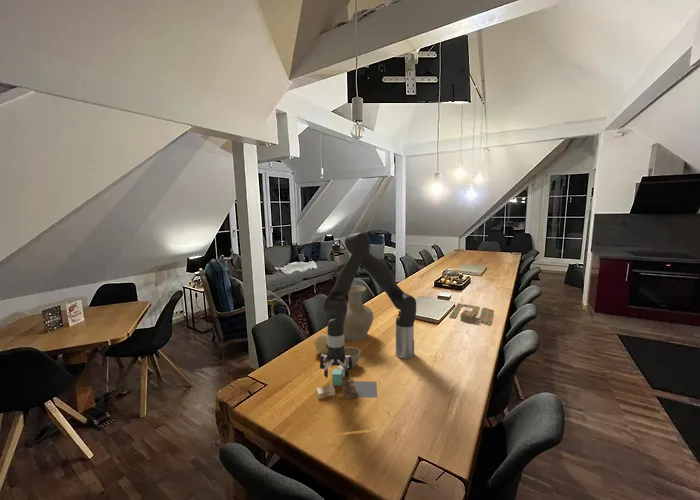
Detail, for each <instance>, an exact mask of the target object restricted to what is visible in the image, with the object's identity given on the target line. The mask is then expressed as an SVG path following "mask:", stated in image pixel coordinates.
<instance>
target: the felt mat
mask: <svg viewBox="0 0 700 500" xmlns="http://www.w3.org/2000/svg"><path fill="white" fill-rule="evenodd" d="M377 383H378V382H377V381H371V380H370V381H367V380H365V381H361V380H357V381H356V380H354V384H355V388H356V393H357V397H356V398H378V385H377Z"/></svg>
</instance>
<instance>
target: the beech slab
mask: <svg viewBox="0 0 700 500" xmlns="http://www.w3.org/2000/svg"><path fill="white" fill-rule="evenodd" d="M335 389H336V388H335V387H334V386H333V385H332V384H330V385H326V386H322V387H317V388H316V394H317V398H318V399H324V398H328V397H333V396H336V390H335Z"/></svg>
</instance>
